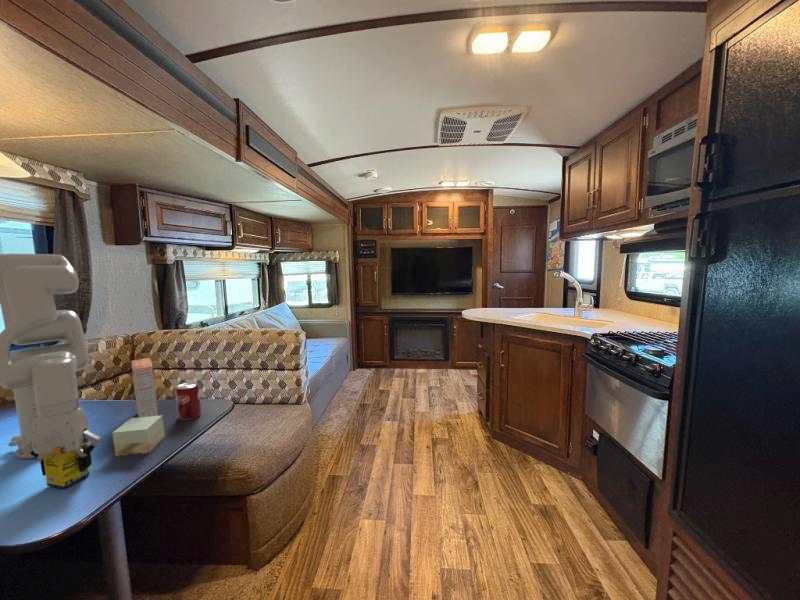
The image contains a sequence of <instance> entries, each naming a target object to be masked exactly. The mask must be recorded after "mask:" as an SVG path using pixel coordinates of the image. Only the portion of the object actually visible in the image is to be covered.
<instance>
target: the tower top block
mask: <svg viewBox="0 0 800 600" xmlns="http://www.w3.org/2000/svg"><path fill="white" fill-rule="evenodd" d="M163 416H164V415H161V414H160V415H159V416H150V417H139V418H138V417H131V418H129V419H128V420H127V421H125V422H124V423H122V425H120V426H119V427H118V428H117V429H115V430H114V431H113V432H112V433H111V435H112V442H113V445H123V444H132V443H141V442H149V441H150V440H151V439H152V438H153V437H154V436H155V435H156V434H157V433H158V432H159V431H160V430H161V429H162V428H163V427H164V417H163ZM164 428H165V427H164Z"/></svg>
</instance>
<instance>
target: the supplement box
mask: <svg viewBox="0 0 800 600" xmlns="http://www.w3.org/2000/svg"><path fill="white" fill-rule="evenodd" d="M84 439H85V438H84ZM81 448H82V449H83V450H85V449H84V448H83V446H82V447H81ZM79 457H80V456H79V454H78V453H77V452H76V451H72V452H65V450H64V447H60V448H52V453H50V454H43V459H44V466H45V474H46V475H45V478H46V479H45V481H46V485H47V487H52V488H58V489H63V490H65V489H67V488H68V487H69V486H71V485H73V484H74V483H77V482H78V481H81V480H82V479H84V478H85V477H88V476H90V469H89V467H90V466H89V467H88V468H87V469H86V470H85V471H83V472H80V471H79V464H78V458H79Z"/></svg>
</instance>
